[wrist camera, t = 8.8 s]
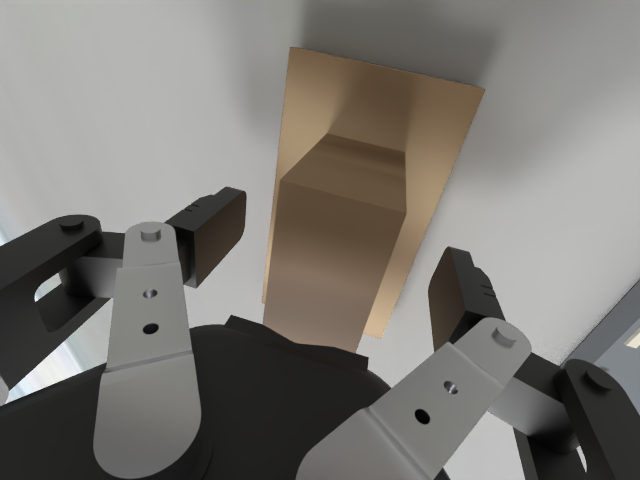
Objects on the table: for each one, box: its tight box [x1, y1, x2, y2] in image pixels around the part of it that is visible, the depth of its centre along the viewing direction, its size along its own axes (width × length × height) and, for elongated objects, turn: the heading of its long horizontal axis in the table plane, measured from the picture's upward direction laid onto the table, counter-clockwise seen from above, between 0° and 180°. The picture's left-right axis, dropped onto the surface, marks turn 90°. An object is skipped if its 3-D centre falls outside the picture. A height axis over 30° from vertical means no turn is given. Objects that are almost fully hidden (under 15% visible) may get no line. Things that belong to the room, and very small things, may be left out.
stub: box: [262, 47, 485, 353], centre depth 12 cm, size 12×7×7 cm, turn 170°
